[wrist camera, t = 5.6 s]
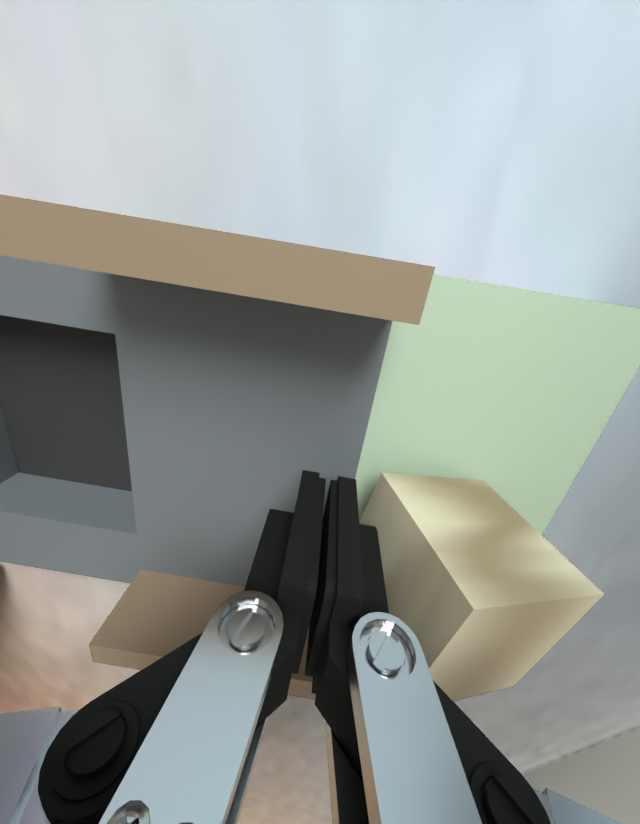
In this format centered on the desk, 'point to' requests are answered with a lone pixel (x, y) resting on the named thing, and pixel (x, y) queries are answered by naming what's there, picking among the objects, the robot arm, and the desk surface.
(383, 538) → the birch block
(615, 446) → the desk surface
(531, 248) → the desk surface
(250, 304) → the board
